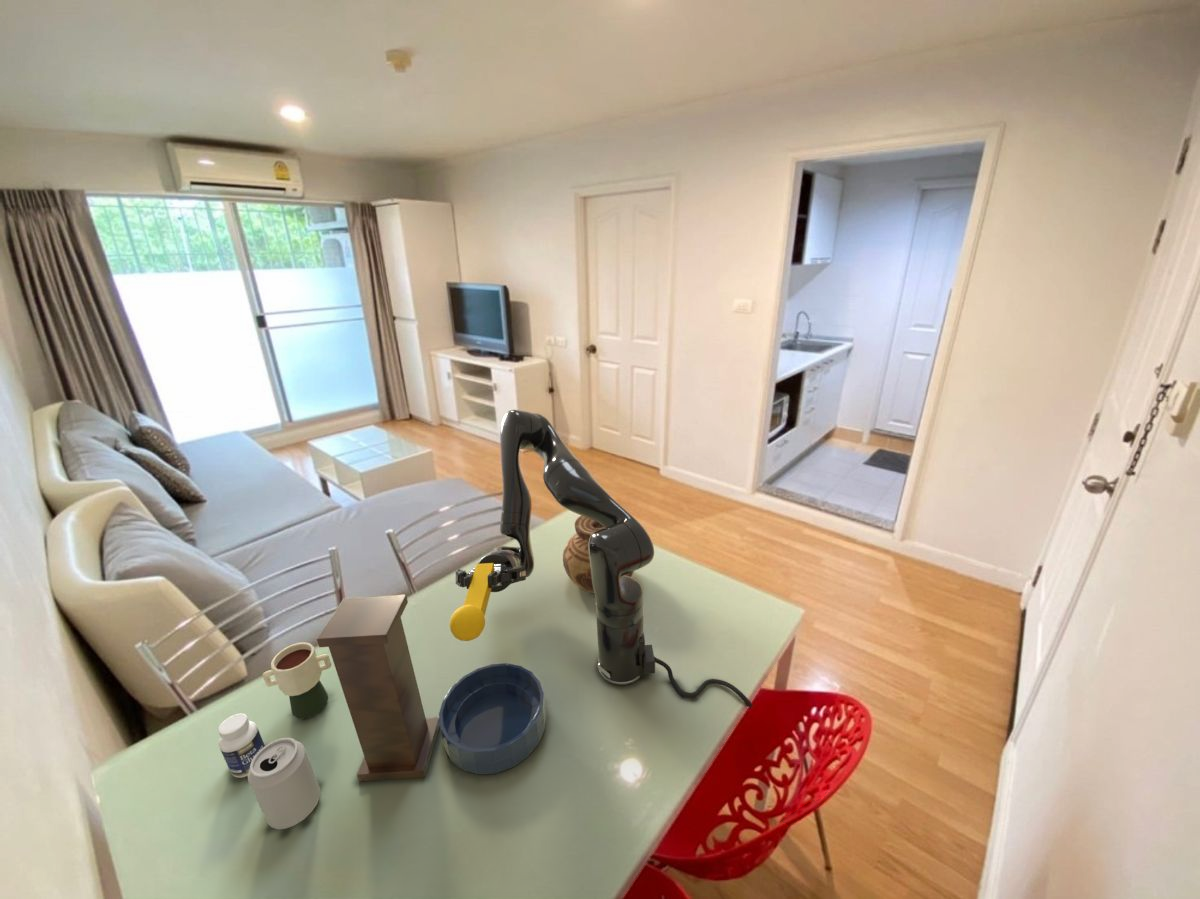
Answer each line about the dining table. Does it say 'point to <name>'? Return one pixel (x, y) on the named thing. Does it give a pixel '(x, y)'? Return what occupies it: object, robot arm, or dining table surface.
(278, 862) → the dining table surface
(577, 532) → the clay pot
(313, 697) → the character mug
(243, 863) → the dining table surface
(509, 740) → the bowl
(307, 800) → the can
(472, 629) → the yellow lever
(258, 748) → the pill bottle
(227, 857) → the dining table surface
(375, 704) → the stand
